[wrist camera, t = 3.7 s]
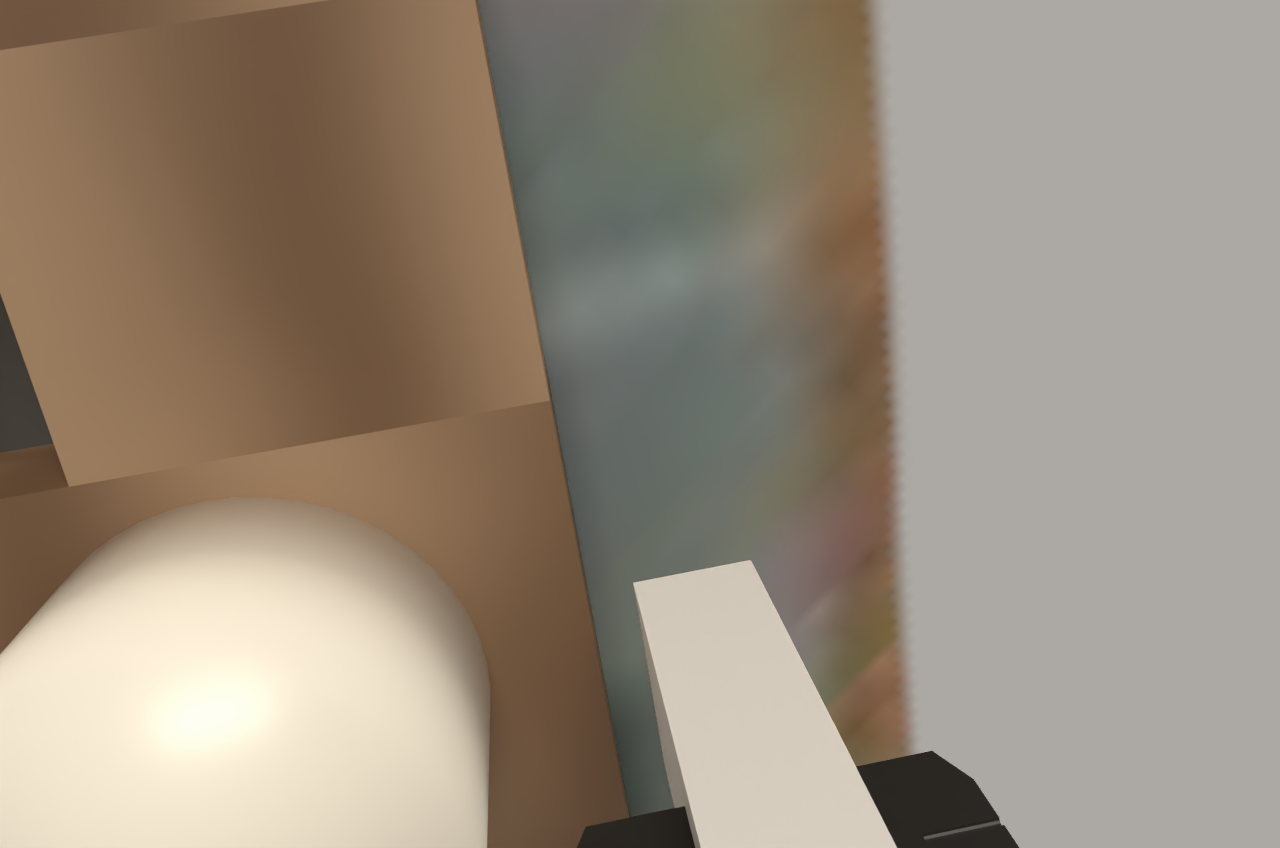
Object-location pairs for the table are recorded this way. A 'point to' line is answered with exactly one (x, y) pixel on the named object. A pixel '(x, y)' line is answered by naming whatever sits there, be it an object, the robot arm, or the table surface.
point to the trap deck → (294, 327)
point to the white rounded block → (247, 692)
